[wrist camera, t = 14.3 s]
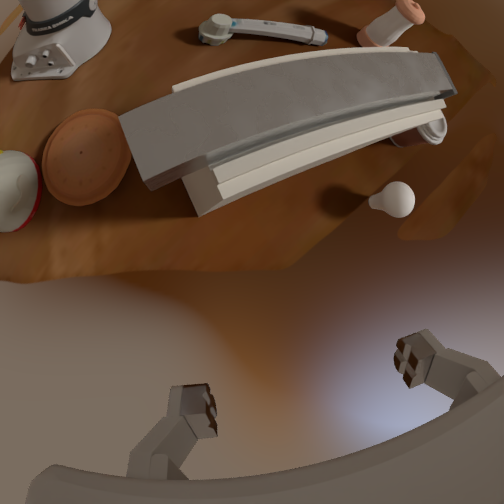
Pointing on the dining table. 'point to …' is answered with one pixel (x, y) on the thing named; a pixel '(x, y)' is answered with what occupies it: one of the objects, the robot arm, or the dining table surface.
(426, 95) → the brushed metal bar
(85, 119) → the pie
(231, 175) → the stand
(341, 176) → the dining table surface
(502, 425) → the robot arm
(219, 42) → the toothbrush head
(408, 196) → the lightbulb
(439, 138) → the coffee cup
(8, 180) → the kitchen timer
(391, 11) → the pepper shaker
